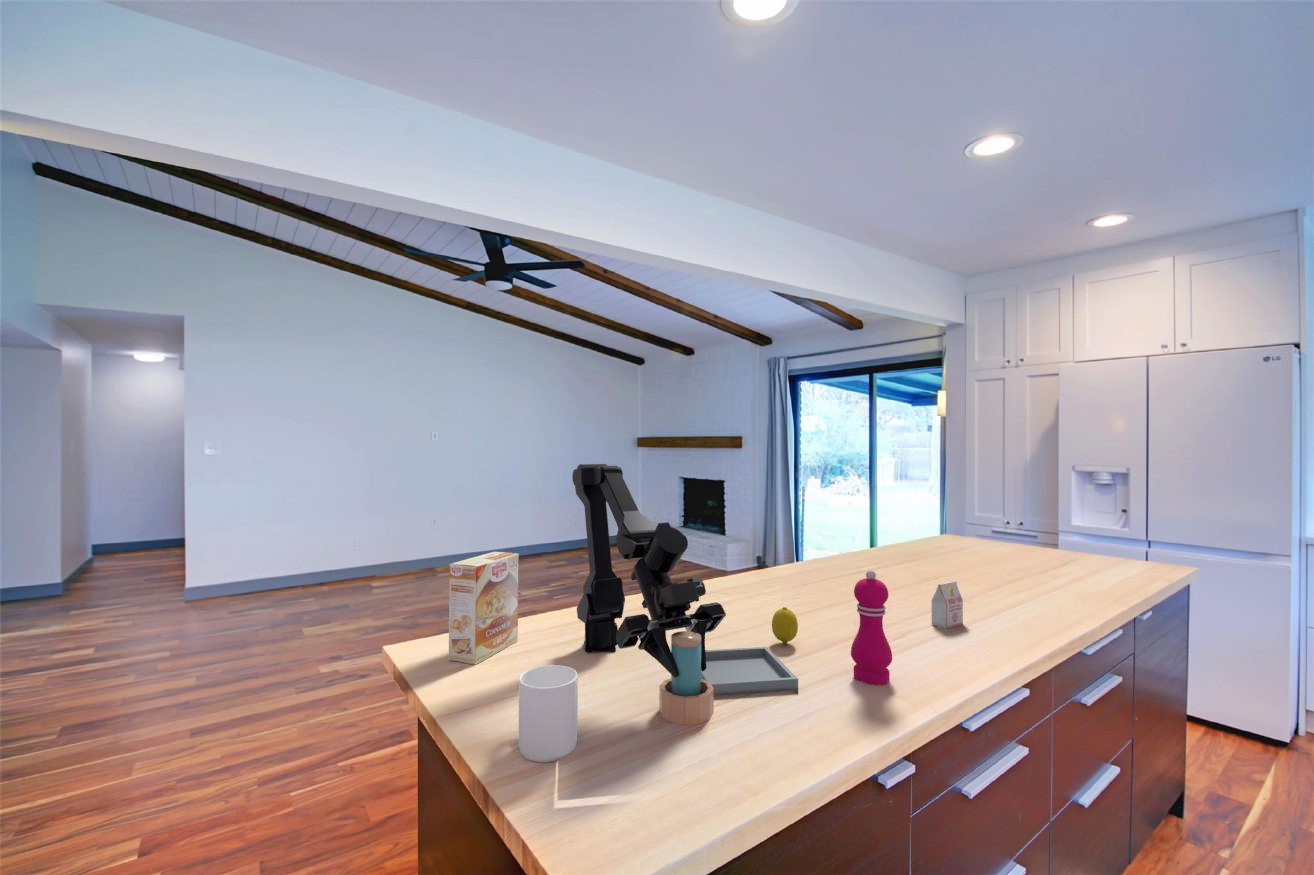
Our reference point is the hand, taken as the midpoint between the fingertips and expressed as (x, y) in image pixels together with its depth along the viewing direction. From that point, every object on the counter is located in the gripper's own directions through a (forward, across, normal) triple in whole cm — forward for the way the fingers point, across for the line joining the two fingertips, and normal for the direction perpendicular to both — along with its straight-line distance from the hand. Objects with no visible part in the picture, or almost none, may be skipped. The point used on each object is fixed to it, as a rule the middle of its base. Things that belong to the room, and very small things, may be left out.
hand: (690, 673), depth 91 cm
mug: (+2, -23, +8) cm, 24 cm away
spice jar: (+4, 0, +6) cm, 7 cm away
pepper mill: (+7, +38, +3) cm, 39 cm away
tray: (-1, +17, +12) cm, 20 cm away
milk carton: (-2, +80, +13) cm, 81 cm away
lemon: (-8, +36, +19) cm, 42 cm away
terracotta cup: (+4, 0, +6) cm, 7 cm away
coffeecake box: (-28, -22, +38) cm, 52 cm away
